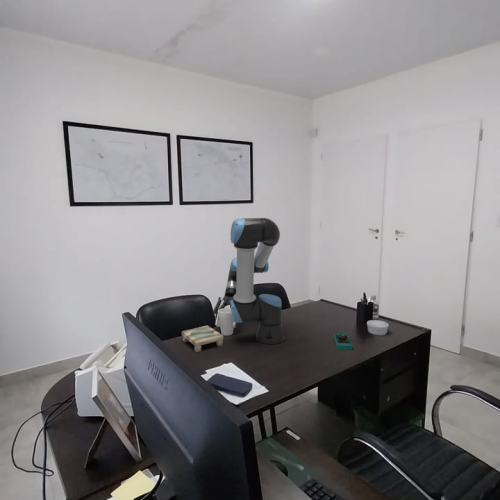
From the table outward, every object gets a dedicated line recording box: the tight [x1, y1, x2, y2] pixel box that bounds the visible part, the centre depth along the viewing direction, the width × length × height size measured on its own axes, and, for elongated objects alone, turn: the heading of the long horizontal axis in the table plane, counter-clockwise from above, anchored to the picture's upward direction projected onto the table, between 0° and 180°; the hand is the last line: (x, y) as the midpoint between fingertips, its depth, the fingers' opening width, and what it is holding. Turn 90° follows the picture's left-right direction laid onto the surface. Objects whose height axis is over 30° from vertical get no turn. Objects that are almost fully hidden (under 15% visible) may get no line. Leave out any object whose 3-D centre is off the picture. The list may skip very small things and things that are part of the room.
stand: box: [181, 325, 224, 353], centre depth 174 cm, size 18×15×5 cm
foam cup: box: [218, 307, 234, 336], centre depth 186 cm, size 10×9×13 cm
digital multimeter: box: [333, 333, 354, 351], centre depth 171 cm, size 7×15×3 cm, turn 174°
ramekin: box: [366, 319, 390, 336], centre depth 185 cm, size 11×11×5 cm
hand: (225, 326), depth 183 cm, fingers closed on foam cup, 9 cm apart
